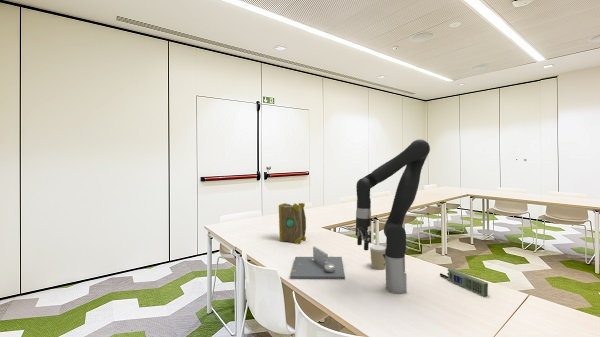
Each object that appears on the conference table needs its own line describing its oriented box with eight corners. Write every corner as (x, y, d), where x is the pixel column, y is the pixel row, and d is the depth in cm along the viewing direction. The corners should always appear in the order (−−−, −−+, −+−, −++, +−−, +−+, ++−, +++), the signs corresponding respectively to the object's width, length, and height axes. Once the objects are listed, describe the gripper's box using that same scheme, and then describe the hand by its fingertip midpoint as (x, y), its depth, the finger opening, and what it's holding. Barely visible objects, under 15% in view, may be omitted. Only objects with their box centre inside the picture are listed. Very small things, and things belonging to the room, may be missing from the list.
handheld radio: (484, 298, 130) (438, 277, 153) (488, 296, 131) (442, 276, 154) (484, 283, 130) (438, 265, 153) (489, 282, 131) (442, 264, 154)
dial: (337, 271, 159) (336, 256, 159) (328, 273, 157) (327, 258, 156) (318, 258, 179) (317, 245, 179) (309, 260, 176) (309, 247, 176)
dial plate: (341, 259, 183) (341, 256, 183) (345, 279, 153) (344, 276, 153) (295, 259, 185) (295, 256, 185) (290, 278, 156) (290, 276, 155)
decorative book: (278, 241, 224) (277, 204, 223) (285, 237, 234) (284, 201, 233) (300, 244, 215) (299, 205, 214) (307, 240, 225) (306, 203, 224)
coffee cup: (387, 270, 163) (387, 250, 162) (370, 269, 164) (370, 249, 164) (385, 264, 172) (385, 245, 171) (370, 263, 174) (369, 244, 173)
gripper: (376, 219, 139) (375, 251, 140) (364, 213, 153) (363, 243, 154) (362, 219, 138) (361, 252, 139) (351, 213, 152) (350, 243, 153)
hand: (362, 247), depth 146 cm, fingers open, 8 cm apart
